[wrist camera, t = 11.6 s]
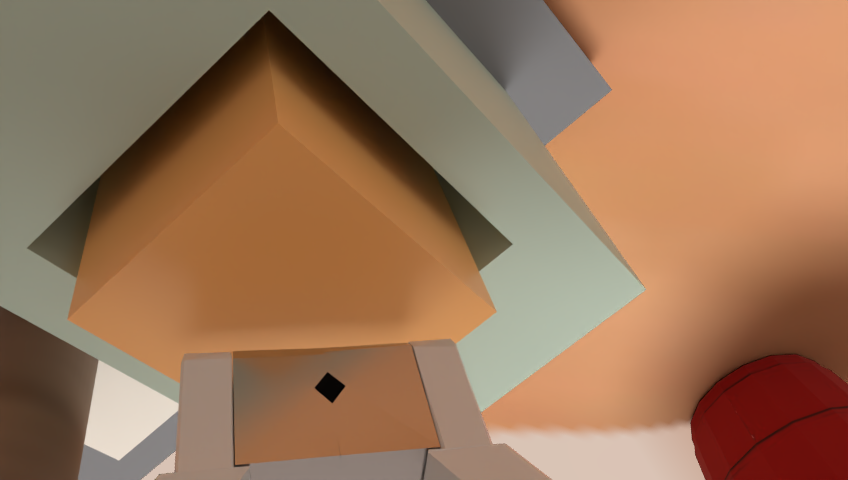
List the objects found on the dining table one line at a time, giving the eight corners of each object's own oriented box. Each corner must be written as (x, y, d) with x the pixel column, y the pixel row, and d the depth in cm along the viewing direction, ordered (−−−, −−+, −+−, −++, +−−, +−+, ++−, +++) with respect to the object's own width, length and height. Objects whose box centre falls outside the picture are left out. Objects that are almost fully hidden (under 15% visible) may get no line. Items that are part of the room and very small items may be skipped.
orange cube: (108, 144, 13) (67, 319, 9) (259, -6, 12) (278, 123, 8) (288, 275, 15) (310, 457, 12) (426, 155, 14) (497, 311, 11)
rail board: (-491, 344, 20) (-945, 768, 12) (169, -477, 14) (110, -671, 6) (27, 540, 27) (-47, 875, 20) (589, 67, 21) (796, 278, 14)
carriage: (-135, 208, 17) (-404, 613, 10) (-22, 86, 17) (-226, 431, 9) (131, 358, 21) (84, 733, 14) (235, 266, 20) (246, 616, 13)
